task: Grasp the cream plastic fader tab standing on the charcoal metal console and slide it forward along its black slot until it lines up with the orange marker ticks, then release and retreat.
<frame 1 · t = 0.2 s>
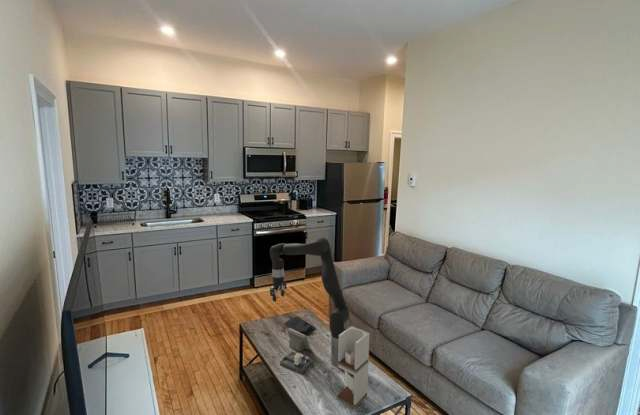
hand: (278, 298, 218), 29 cm above the table, fingers open, 8 cm apart
digital clock: (298, 346, 215), on the table
fader tab: (297, 358, 194), point 5 cm above the table, slide at 0.0 cm
display case: (352, 397, 172), on the table
dark slate chunk: (299, 327, 239), on the table
console: (297, 363, 198), on the table
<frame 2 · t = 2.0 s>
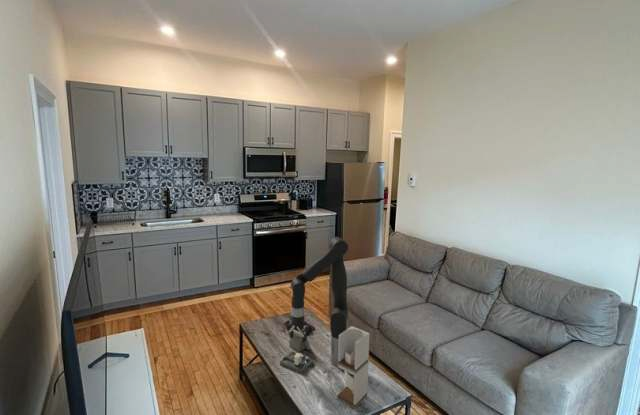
hand: (297, 339, 192), 17 cm above the table, fingers open, 8 cm apart
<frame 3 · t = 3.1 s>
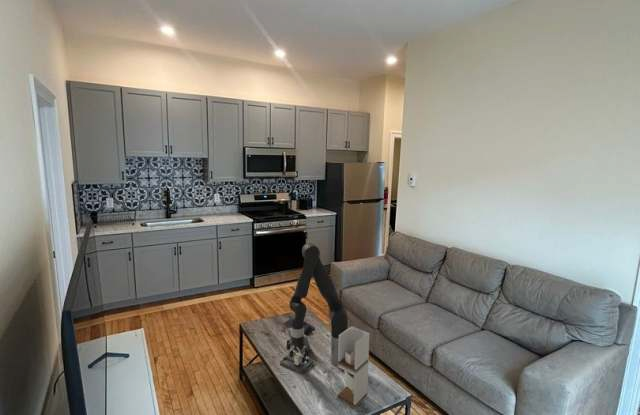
hand: (297, 359, 195), 4 cm above the table, fingers open, 8 cm apart
nothing on the table moved.
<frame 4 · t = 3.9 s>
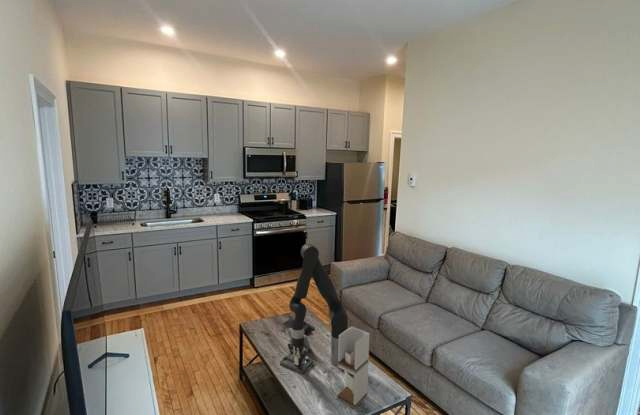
hand: (297, 361, 195), 3 cm above the table, fingers closed on fader tab, 2 cm apart
fader tab: (297, 358, 194), point 5 cm above the table, slide at 0.0 cm, touching gripper
everything else where it was.
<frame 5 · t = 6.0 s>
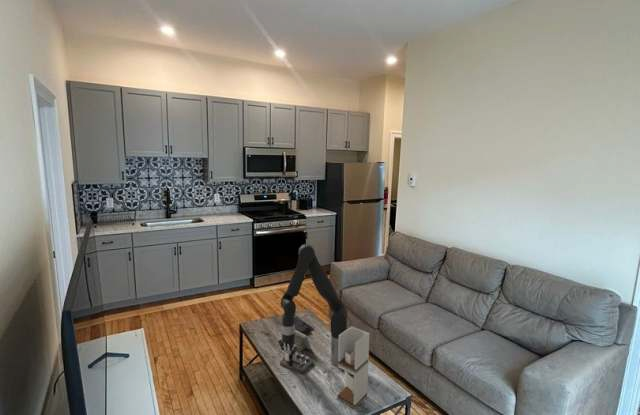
hand: (288, 358, 198), 3 cm above the table, fingers closed on fader tab, 2 cm apart
fader tab: (288, 355, 198), point 5 cm above the table, slide at 6.7 cm, touching gripper
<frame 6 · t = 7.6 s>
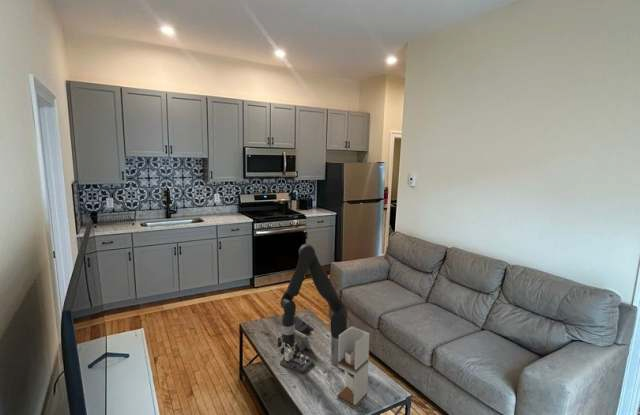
hand: (288, 356, 198), 4 cm above the table, fingers open, 8 cm apart
fader tab: (288, 355, 198), point 5 cm above the table, slide at 6.7 cm
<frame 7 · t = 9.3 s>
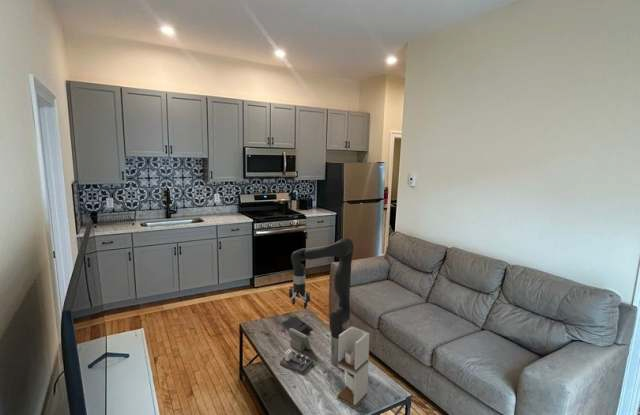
hand: (299, 306, 210), 28 cm above the table, fingers open, 8 cm apart
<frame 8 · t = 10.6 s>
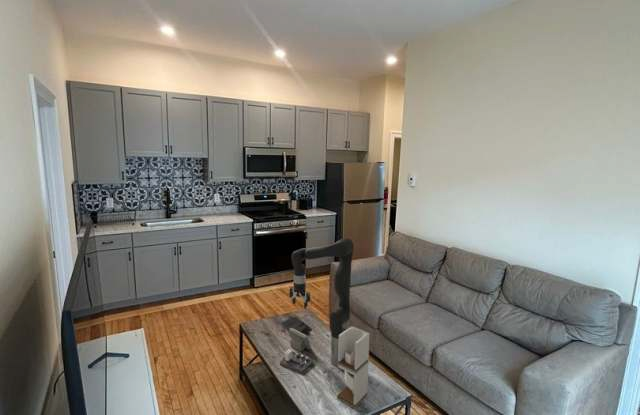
hand: (299, 305, 210), 28 cm above the table, fingers open, 8 cm apart
at the end: fader tab slide at 6.7 cm; the gripper is holding nothing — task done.
